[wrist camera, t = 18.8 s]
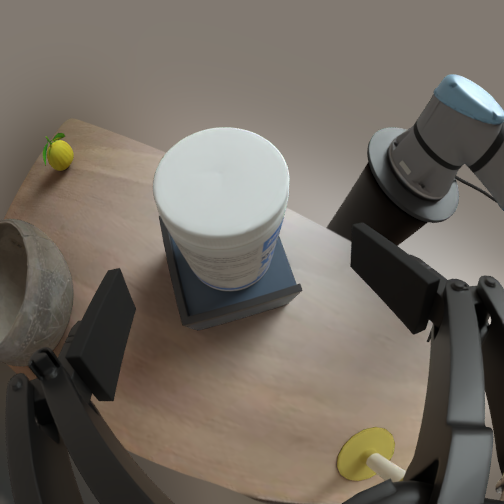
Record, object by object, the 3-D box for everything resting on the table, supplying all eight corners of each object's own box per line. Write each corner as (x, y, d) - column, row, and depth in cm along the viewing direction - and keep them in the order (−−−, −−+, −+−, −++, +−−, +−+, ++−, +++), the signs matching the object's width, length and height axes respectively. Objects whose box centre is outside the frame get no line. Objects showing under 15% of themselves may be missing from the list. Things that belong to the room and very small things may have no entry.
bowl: (43, 229, 40) (-5, 191, 25) (115, 281, 37) (59, 246, 23) (1, 321, 33) (-53, 306, 19) (65, 391, 31) (2, 399, 16)
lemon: (62, 184, 43) (37, 156, 33) (53, 171, 44) (30, 144, 35) (85, 161, 45) (63, 130, 35) (74, 150, 46) (54, 120, 36)
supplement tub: (277, 287, 30) (308, 234, 16) (191, 297, 29) (147, 253, 15) (264, 209, 33) (277, 120, 19) (186, 218, 32) (154, 133, 18)
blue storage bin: (259, 221, 41) (264, 187, 32) (288, 303, 37) (302, 290, 28) (176, 244, 39) (158, 216, 30) (197, 330, 35) (182, 325, 26)
